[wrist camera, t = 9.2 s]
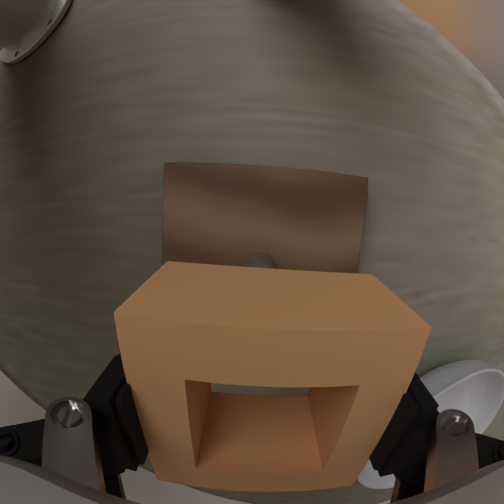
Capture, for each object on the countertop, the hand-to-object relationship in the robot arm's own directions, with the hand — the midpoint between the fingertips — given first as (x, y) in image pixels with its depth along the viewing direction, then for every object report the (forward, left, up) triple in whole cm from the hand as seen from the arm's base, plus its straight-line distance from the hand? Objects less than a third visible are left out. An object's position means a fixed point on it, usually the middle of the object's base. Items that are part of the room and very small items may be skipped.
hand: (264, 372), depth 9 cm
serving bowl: (+18, +22, -14) cm, 32 cm away
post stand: (0, 0, -14) cm, 14 cm away
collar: (0, 0, -1) cm, 1 cm away
